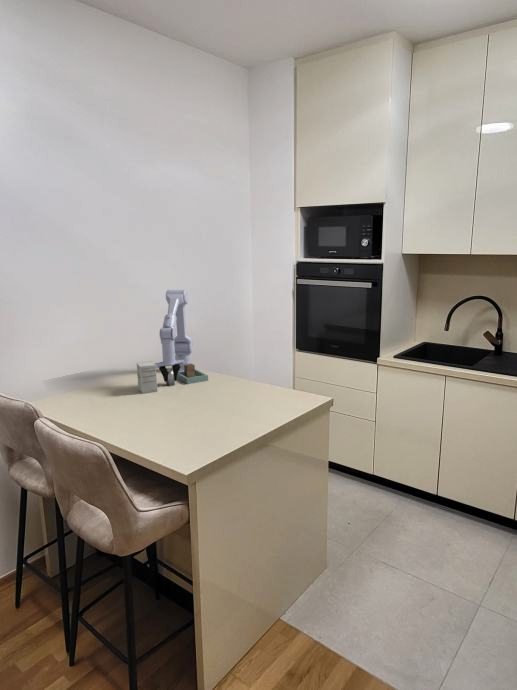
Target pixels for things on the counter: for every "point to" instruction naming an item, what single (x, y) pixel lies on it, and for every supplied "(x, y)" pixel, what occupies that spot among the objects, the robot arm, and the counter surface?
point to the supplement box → (147, 377)
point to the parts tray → (198, 377)
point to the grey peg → (170, 378)
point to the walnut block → (189, 370)
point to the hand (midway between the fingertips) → (170, 380)
